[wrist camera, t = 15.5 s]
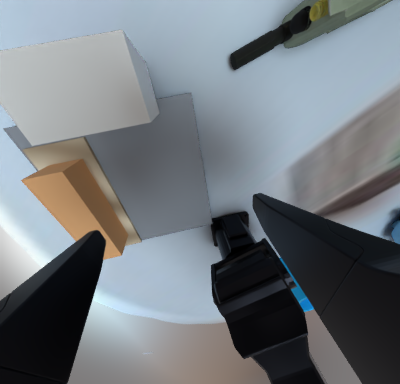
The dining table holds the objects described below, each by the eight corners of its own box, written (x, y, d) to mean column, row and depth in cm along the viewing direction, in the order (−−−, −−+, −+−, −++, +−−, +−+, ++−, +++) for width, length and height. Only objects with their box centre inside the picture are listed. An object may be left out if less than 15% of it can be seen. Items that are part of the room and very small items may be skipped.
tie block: (159, 113, 15) (150, 122, 9) (89, 126, 15) (32, 146, 9) (145, 62, 13) (122, 29, 7) (64, 77, 13) (-36, 56, 7)
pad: (141, 240, 24) (141, 242, 24) (103, 248, 24) (102, 251, 24) (85, 136, 16) (83, 137, 15) (25, 148, 15) (21, 149, 15)
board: (211, 219, 25) (212, 223, 25) (103, 244, 25) (100, 249, 24) (190, 92, 16) (191, 92, 15) (12, 127, 15) (3, 128, 14)
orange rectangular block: (128, 234, 23) (121, 255, 20) (104, 240, 23) (94, 261, 20) (82, 158, 16) (62, 171, 13) (48, 165, 16) (21, 180, 13)
